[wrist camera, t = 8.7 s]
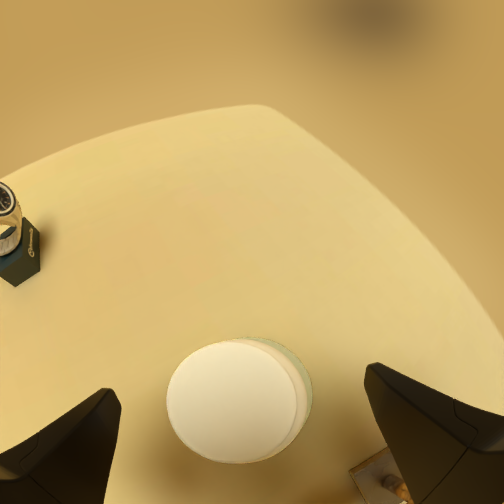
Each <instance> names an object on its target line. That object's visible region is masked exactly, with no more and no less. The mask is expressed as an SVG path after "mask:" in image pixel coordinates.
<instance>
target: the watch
mask: <svg viewBox="0 0 504 504" xmlns="http://www.w3.org/2000/svg"><path fill="white" fill-rule="evenodd" d="M0 225H9V226H11V227H10V228H8V229H7V230H6V231H5V232H3V233H2V234H1V235H0V277H2V278H3V279H4V280H6V281H7V282H9V283H10V284H11V285H13V286H14V287H16V286H18V285H19V284H21V283H22V282H24V281H25V280H27V279H28V278H30V277H31V276H33V275H34V274H36V273H37V272H39V271H40V256H39V231H38V230H37V229H36V228H35V227H34V226H33V225H32V224H31V223H30V222H29V221H28V220H27V219H26V218H25V217H23V218H22V212H21V208H20V205H19V202H18V200H17V199H16V196H15V194H14V192H13V191H12V190H11V189H10V187H8V186H7V185H6V184H4V183H2V182H0Z"/></svg>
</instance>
